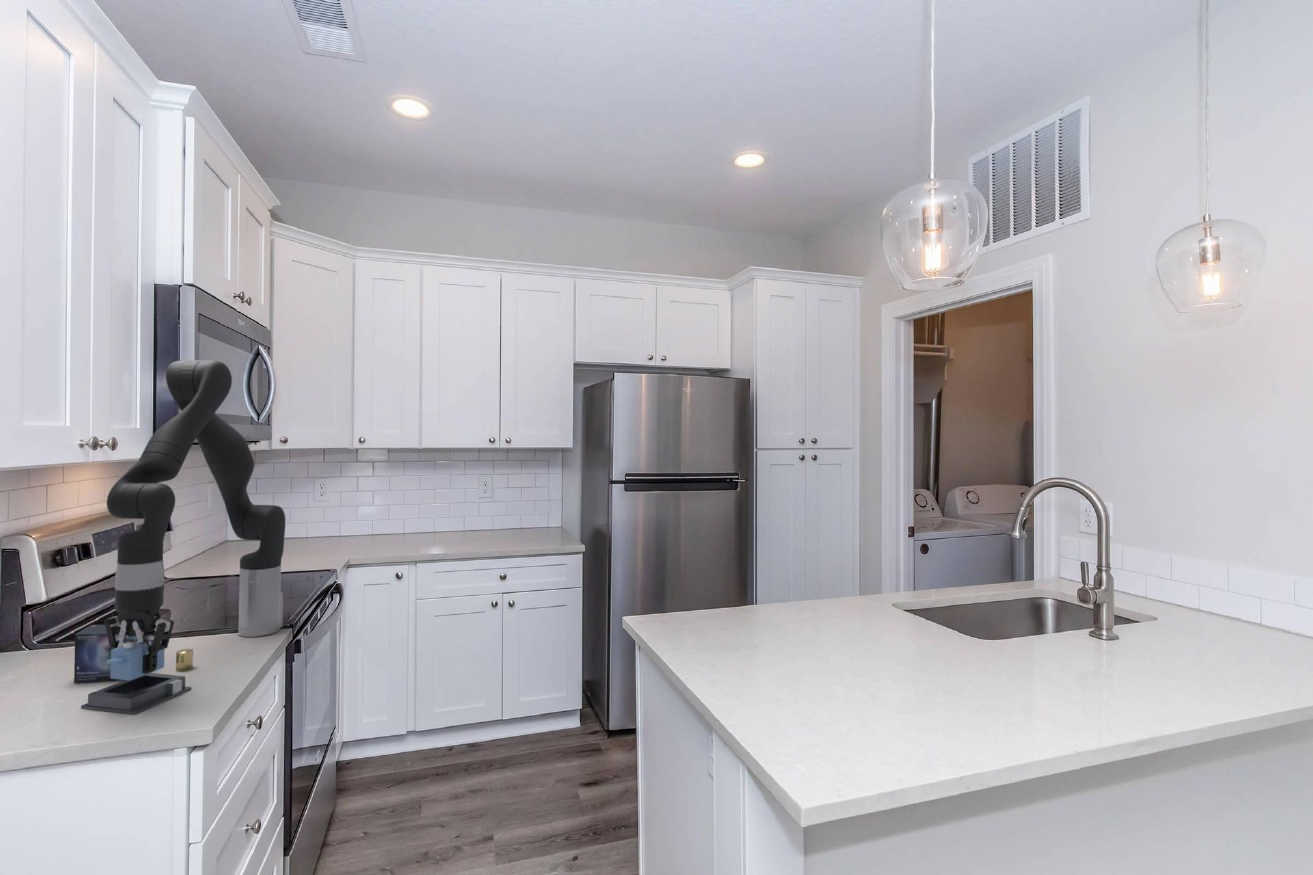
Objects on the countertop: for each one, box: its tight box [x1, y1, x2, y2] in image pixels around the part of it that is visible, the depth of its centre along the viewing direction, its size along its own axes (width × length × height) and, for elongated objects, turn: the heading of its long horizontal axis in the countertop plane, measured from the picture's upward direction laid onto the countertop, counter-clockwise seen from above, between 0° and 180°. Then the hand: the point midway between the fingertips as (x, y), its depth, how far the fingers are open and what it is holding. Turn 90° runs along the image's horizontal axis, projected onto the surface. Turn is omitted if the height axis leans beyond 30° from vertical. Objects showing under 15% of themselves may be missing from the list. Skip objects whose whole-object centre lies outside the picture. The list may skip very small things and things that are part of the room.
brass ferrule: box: [175, 648, 194, 673], centre depth 143 cm, size 3×3×4 cm
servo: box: [106, 641, 166, 681], centre depth 127 cm, size 10×4×6 cm, turn 170°
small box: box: [73, 624, 147, 684], centre depth 137 cm, size 11×6×10 cm, turn 105°
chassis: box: [80, 672, 192, 716], centre depth 127 cm, size 12×12×3 cm
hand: (138, 670), depth 127 cm, fingers closed on servo, 4 cm apart
